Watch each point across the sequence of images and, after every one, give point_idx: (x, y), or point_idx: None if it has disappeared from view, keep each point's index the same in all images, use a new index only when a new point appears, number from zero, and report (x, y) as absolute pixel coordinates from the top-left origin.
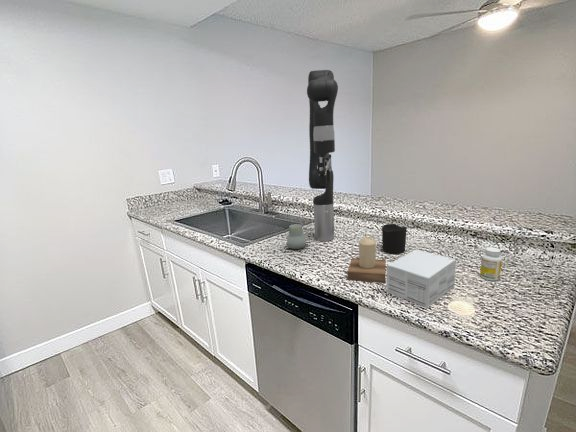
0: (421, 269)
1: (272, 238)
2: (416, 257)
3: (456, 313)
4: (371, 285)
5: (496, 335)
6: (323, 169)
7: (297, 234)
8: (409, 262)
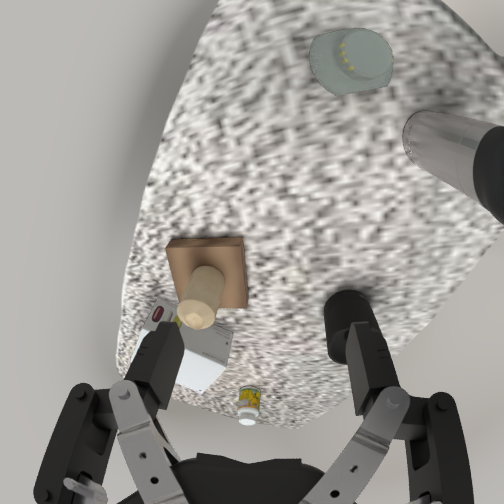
0: None
1: None
2: (187, 364)
3: None
4: (167, 277)
5: (130, 364)
6: (86, 435)
7: (340, 65)
8: None
